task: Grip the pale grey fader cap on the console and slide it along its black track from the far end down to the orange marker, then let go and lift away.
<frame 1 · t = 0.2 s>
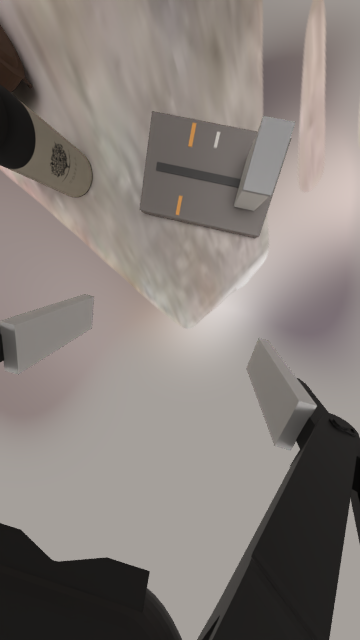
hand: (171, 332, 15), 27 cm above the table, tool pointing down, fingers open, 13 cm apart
console: (208, 183, 35), on the table
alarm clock: (11, 73, 33), on the table
travel mug: (74, 174, 37), on the table
fader: (257, 173, 27), point 8 cm above the table, slide at 14.0 cm
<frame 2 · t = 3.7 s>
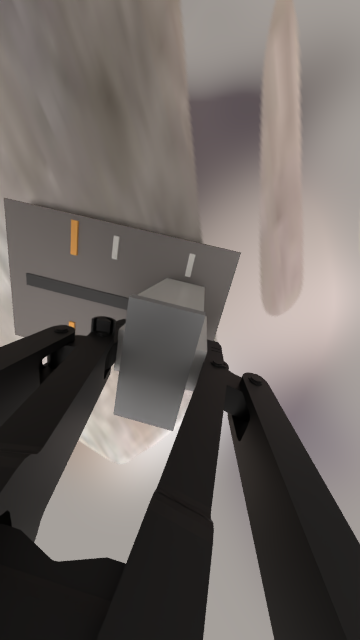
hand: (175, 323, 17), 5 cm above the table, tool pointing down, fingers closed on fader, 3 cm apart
console: (123, 294, 22), on the table
fader: (169, 336, 14), point 8 cm above the table, slide at 14.0 cm, touching gripper
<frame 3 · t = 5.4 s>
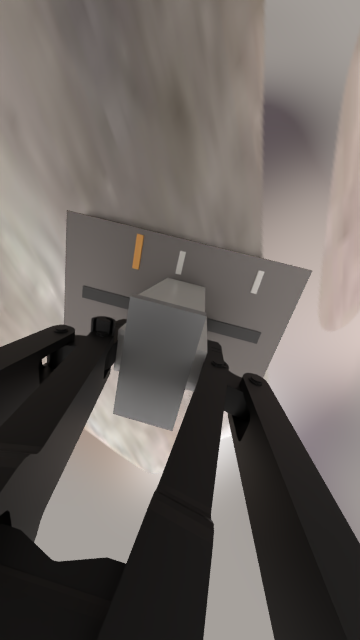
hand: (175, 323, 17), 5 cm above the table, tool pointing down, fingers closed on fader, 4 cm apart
console: (173, 306, 22), on the table
fader: (169, 336, 14), point 8 cm above the table, slide at 7.9 cm, touching gripper
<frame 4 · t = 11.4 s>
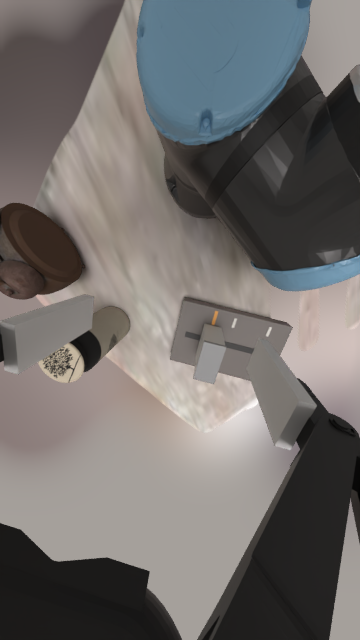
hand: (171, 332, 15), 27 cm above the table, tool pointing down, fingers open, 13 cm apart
console: (225, 338, 43), on the table
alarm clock: (68, 254, 42), on the table
travel mug: (114, 322, 45), on the table
fader: (208, 350, 36), point 8 cm above the table, slide at 3.0 cm
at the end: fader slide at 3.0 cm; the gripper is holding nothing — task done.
